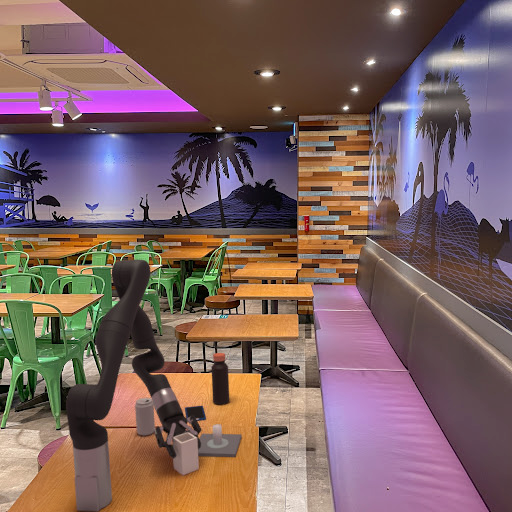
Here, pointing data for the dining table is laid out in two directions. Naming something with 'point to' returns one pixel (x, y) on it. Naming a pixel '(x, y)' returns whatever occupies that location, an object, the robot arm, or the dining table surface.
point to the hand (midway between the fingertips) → (187, 452)
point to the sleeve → (185, 453)
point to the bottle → (220, 380)
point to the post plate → (220, 451)
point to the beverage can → (144, 416)
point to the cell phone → (195, 412)
